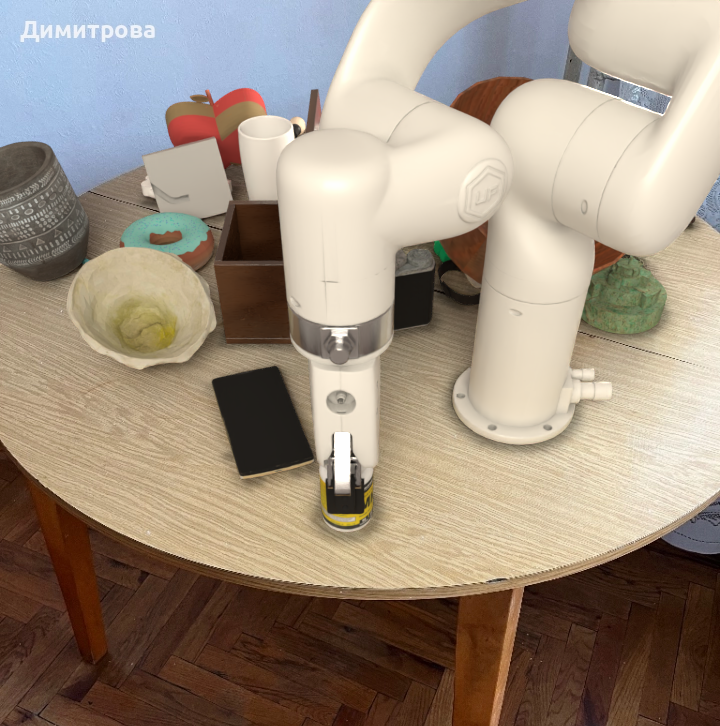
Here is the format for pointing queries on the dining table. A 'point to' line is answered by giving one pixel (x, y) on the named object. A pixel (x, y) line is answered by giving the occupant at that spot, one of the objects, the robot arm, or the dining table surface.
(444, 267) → the watch
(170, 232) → the donut
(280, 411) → the smartphone
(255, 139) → the white tumbler cup
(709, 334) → the dining table surface
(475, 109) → the bowl
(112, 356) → the bowl
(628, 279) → the decorative artifact
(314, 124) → the lid
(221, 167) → the grey square panel
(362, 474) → the supplement bottle
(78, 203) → the planter
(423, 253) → the camera
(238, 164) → the decorative object
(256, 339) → the chest
